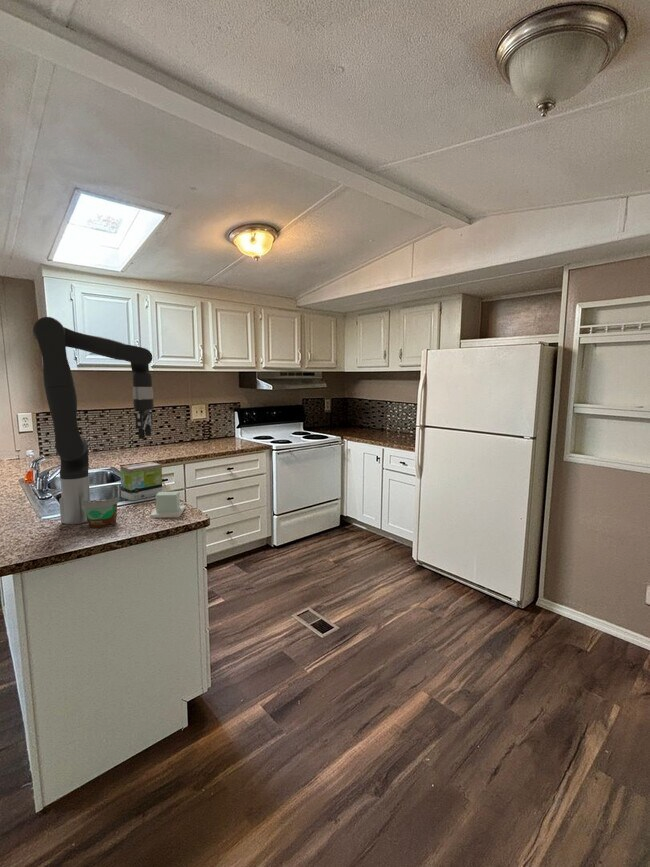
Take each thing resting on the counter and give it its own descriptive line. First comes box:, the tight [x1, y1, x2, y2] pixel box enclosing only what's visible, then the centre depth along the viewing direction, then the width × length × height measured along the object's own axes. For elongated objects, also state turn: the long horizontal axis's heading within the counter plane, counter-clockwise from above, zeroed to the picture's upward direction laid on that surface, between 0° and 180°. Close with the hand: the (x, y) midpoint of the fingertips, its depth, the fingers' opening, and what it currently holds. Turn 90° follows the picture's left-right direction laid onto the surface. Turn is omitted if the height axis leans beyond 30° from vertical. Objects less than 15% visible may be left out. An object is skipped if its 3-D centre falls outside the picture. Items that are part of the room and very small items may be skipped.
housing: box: [155, 491, 181, 512], centre depth 166 cm, size 8×5×7 cm, turn 97°
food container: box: [82, 496, 120, 529], centre depth 151 cm, size 12×6×10 cm, turn 105°
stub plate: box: [149, 505, 186, 519], centre depth 167 cm, size 11×11×4 cm
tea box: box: [119, 461, 163, 501], centre depth 189 cm, size 15×10×15 cm, turn 143°
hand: (145, 437), depth 169 cm, fingers open, 8 cm apart
